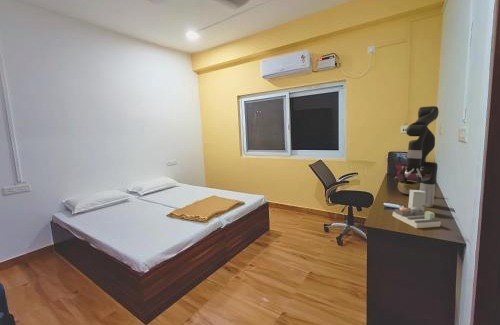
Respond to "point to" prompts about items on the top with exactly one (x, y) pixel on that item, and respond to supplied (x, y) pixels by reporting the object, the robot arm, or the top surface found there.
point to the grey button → (415, 209)
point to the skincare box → (417, 199)
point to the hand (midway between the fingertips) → (411, 183)
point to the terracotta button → (404, 209)
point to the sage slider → (429, 215)
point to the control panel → (416, 219)
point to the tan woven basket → (407, 186)
